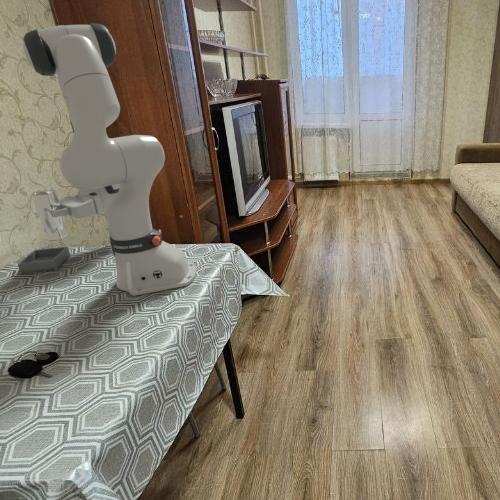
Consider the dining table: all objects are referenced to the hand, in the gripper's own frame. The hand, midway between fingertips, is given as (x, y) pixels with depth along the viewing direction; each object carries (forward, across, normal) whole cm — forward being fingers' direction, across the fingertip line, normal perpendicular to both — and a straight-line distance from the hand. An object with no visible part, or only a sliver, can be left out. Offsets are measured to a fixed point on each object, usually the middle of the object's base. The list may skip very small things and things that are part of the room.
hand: (46, 213), depth 118 cm
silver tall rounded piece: (-1, 0, +9) cm, 9 cm away
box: (+4, -2, +17) cm, 17 cm away
